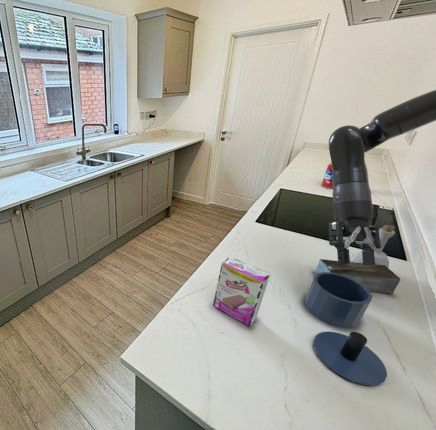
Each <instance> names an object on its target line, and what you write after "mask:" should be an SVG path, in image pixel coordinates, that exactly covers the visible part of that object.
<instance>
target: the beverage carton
mask: <svg viewBox="0 0 436 430" xmlns="http://www.w3.org/2000/svg"><path fill="white" fill-rule="evenodd" d="M322 272H332V273H336V274H341V275H344V276H346V277H349V278H352V279H354V280H355V281H357V282H359V283H361V284H362V285H363V286H365V287H366V288H367V289H368V290H369V291H370V292H375V293H383V294H389V295H394V293H395V290H396V289H397V287H398V285H399V283H400V282H401V277H399V276H398V275H397V274H396V273H394V271H392V270H391V269H390V268H387V267H386V266H385V265H378V264H375V265H374V266H368V265H364V264H363V263H355V262H354V261H350V264H339V262H338V260H333V259H324V258H320V259H319V261H318V264H317V266H316V269H315V272H314V273H315V275H316V274H318V273H322Z"/></svg>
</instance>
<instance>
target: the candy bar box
mask: <svg viewBox="0 0 436 430" xmlns="http://www.w3.org/2000/svg"><path fill="white" fill-rule="evenodd" d="M270 278H271V274H270V273H268V272H266V271H263V270H262V269H259V268H257V267H255V266H253V265H250V264H248V263H246V262H243V261H241V260H239V259H237V258H234V257H232V256H228V257H227V258H226V259H225V260H224V261H222V263H221V265H220V270H219V275H218V279H217V284H216V289H215V294H214V298H213V303H212V307H214V308H216V309H217V310H219V311H221V312H223V313H224V314H226V315H228V316H230V317H231V318H233V319H234V320H236V321H238V322H240V323H241V324H243V325H245V326H247V327H249V328H250V327H251V326H252V324H253V323H254V322H255V320H256V319H257V317H258V314H259V311H260V308H261V305H262V301H263V298H264V296H265V292H266V289H267V286H268V284H269V280H270Z"/></svg>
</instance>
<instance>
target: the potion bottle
mask: <svg viewBox="0 0 436 430" xmlns="http://www.w3.org/2000/svg"><path fill="white" fill-rule="evenodd" d="M395 228H396V226H394V225H385V224H383V226H382V227H380V228H378V229H379V236H380V243H381V248H380V249H376V250H375V251H374V257H375V264H378V265H385V266H386V267H387V268H388V269H390V260H389V258H388V255H387V253H385V252H383V250H384V248H385V246H386V244H387V242H388V240H389V239H390V238H392V237H394V235H395V234H396V232H395ZM362 251H363V250H362V249H361V250H360V251H359V252H358V253H357V254H356V255H355V256H354V257H353V262H355V263H363V257H362Z"/></svg>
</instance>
